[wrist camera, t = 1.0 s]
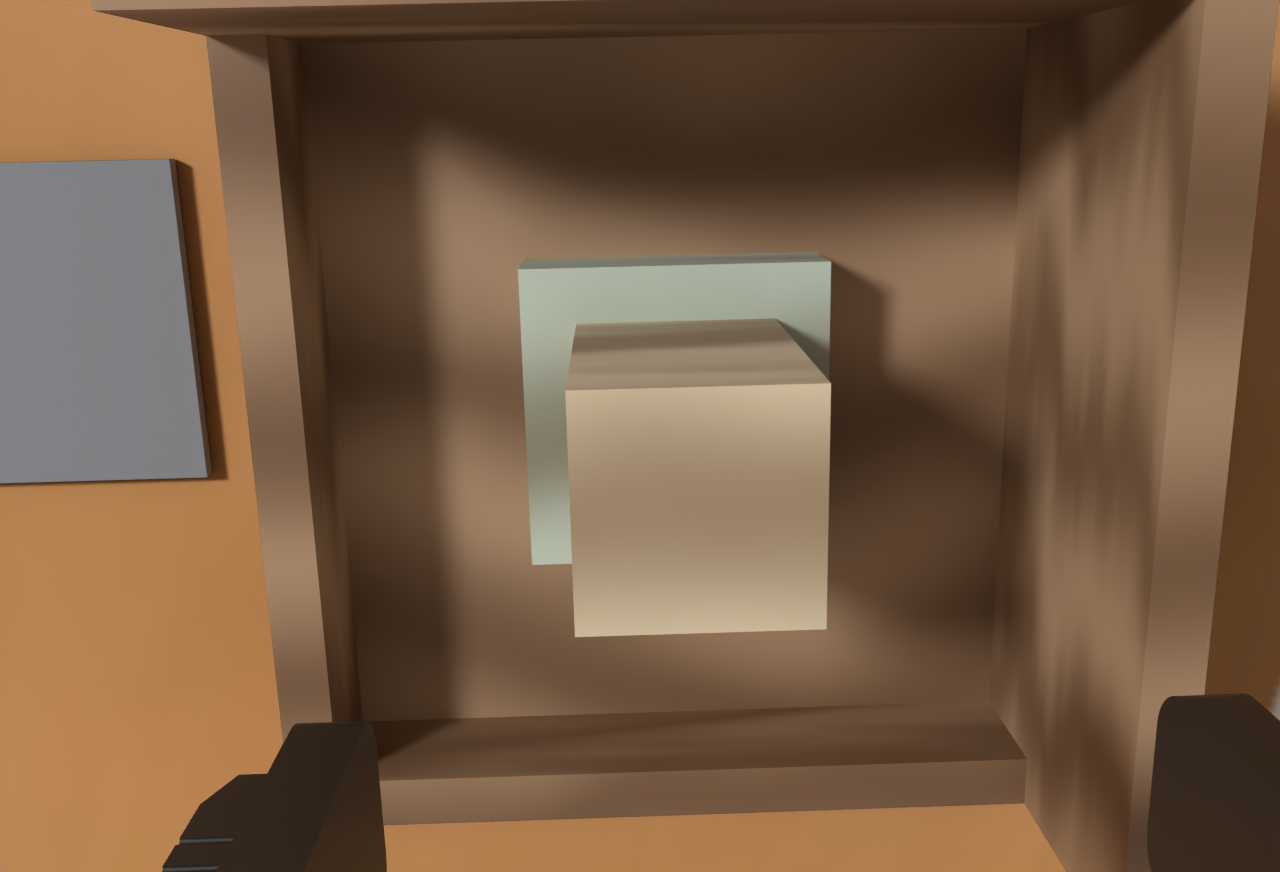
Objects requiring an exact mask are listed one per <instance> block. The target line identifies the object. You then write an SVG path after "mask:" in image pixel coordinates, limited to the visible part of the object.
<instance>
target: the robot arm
mask: <svg viewBox="0 0 1280 872" xmlns="http://www.w3.org/2000/svg"><path fill="white" fill-rule="evenodd" d="M1147 850H1148V857H1149V863H1150V867H1151V871H1152V872H1280V721H1279V720H1278V719H1277V718H1276V717H1275V716H1274V715H1272V714H1271V713H1270V712H1269V711H1268V710H1267V709H1266V708H1264V707H1263V706H1262V705H1261V704H1260V703H1259V702H1258V701H1256V700H1255V699H1254V698H1253V697H1251V696H1249V695H1247V694H1217V695H1187V696H1171V697H1168V698H1167V699H1166V700H1165V701H1164V702H1163V704H1162V706H1161V708H1160V711H1159V715H1158V721H1157V729H1156V740H1155V751H1154V762H1153V772H1152V783H1151V794H1150V804H1149V815H1148V826H1147ZM162 872H387V865H386V849H385V838H384V826H383V814H382V803H381V791H380V780H379V768H378V756H377V745H376V738H375V733H374V729H373V726H372V724H371V722H369V721H353V722H322V723H297V724H295V725H294V726H293V727H292V728H291V730H290V732H289V734H288V736H287V738H286V739H285V741H284V743H283V745H282V747H281V749H280V751H279V753H278V755H277V756H276V758H275V760H274V762H273V764H272V766H271V768H270V770H269V772H268V773H267V774H250V775H238V776H237V777H235V778H234V779H233V780H232V781H230V782H229V783H228V784H226V785H225V786H224V787H222V788H221V789H220V790H218V791H217V792H216V793H215V794H213V795H212V796H211V797H209V798H208V799H207V800H205V801H204V802H203V803H201V804H200V806H199V807H198V809H197V811H196V812H195V814H194V815H193V817H192V819H191V820H190V822H189V824H188V825H187V827H186V829H185V830H184V832H183V834H182V835H181V837H180V843H179V845H175V847H174V849H173V850H172V852H171V853H170V855H169V857H168V858H167V860H166V862H165V863H164V865H163V871H162Z"/></svg>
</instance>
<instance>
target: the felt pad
mask: <svg viewBox="0 0 1280 872" xmlns="http://www.w3.org/2000/svg"><path fill="white" fill-rule="evenodd" d="M211 473H212V468H211V460H210V451H209V443H208V434H207V426H206V417H205V409H204V400H203V392H202V383H201V375H200V366H199V358H198V349H197V341H196V333H195V324H194V316H193V307H192V299H191V290H190V282H189V273H188V265H187V256H186V248H185V239H184V231H183V222H182V214H181V205H180V197H179V189H178V180H177V172H176V163H175V159H147V160H104V161H62V162H19V163H0V483H27V482H62V481H97V480H132V479H167V478H202V477H208V476H209V475H210V474H211Z"/></svg>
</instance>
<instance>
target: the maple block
mask: <svg viewBox="0 0 1280 872" xmlns="http://www.w3.org/2000/svg"><path fill="white" fill-rule="evenodd" d="M565 396H566V422H567V447H568V473H569V498H570V524H571V549H572V575H573V601H574V626H575V637H598V636H630V635H661V634H693V633H725V632H757V631H789V630H821V629H827V576H828V523H829V469H830V415H831V383H830V381H829V380H828V379H827V378H826V377H825V376H824V374H823V373H822V372H821V371H820V370H819V369H818V368H817V366H816V365H815V364H814V363H813V362H812V361H811V359H810V358H809V357H808V356H807V355H806V354H805V352H804V351H803V350H802V349H801V348H800V347H799V345H798V344H797V343H796V342H795V341H794V340H793V339H792V337H791V336H790V335H789V334H788V333H787V332H786V330H785V329H784V328H783V327H782V326H781V325H780V323H779V322H778V321H777V320H776V319H775V318H769V319H731V320H693V321H655V322H617V323H579V324H576V327H575V333H574V340H573V346H572V352H571V358H570V364H569V371H568V377H567V383H566V389H565Z"/></svg>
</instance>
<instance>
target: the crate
mask: <svg viewBox="0 0 1280 872" xmlns="http://www.w3.org/2000/svg"><path fill="white" fill-rule="evenodd" d="M1278 2H1279V0H92V7H93V11H97V12H102V13H106V14H111V15H115V16H120V17H124V18H129V19H133V20H138V21H142V22H147V23H151V24H156V25H160V26H165V27H169V28H174V29H178V30H183V31H187V32H192V33H196V34H201V35H205V36H206V38H207V47H208V57H209V66H210V75H211V84H212V93H213V103H214V112H215V121H216V130H217V139H218V149H219V158H220V167H221V176H222V185H223V195H224V204H225V213H226V222H227V231H228V240H229V250H230V259H231V268H232V277H233V286H234V296H235V305H236V314H237V323H238V332H239V342H240V351H241V360H242V369H243V378H244V388H245V397H246V406H247V415H248V424H249V433H250V443H251V452H252V461H253V470H254V479H255V489H256V498H257V507H258V516H259V525H260V535H261V544H262V553H263V562H264V571H265V580H266V590H267V599H268V608H269V617H270V626H271V636H272V645H273V654H274V663H275V672H276V682H277V691H278V700H279V709H280V718H281V728H282V737H283V743H284V741H285V739H286V738H287V736H288V734H289V732H290V730H291V728H292V727H293V726H294V725H295V724H297V723H322V722H353V721H369V722H371V724H372V726H373V729H374V733H375V738H376V745H377V756H378V768H379V780H380V791H381V803H382V814H383V825H407V824H436V823H465V822H495V821H524V820H553V819H582V818H611V817H640V816H669V815H698V814H727V813H756V812H785V811H814V810H844V809H873V808H902V807H931V806H960V805H989V804H1018V803H1024V804H1025V805H1026V807H1027V808H1028V810H1029V812H1030V813H1031V815H1032V817H1033V818H1034V820H1035V821H1036V823H1037V825H1038V826H1039V828H1040V830H1041V831H1042V833H1043V835H1044V836H1045V838H1046V839H1047V841H1048V843H1049V844H1050V846H1051V848H1052V849H1053V851H1054V852H1055V854H1056V856H1057V857H1058V859H1059V861H1060V862H1061V864H1062V866H1063V867H1064V869H1065V870H1066V872H1152V871H1151V867H1150V863H1149V857H1148V850H1147V826H1148V815H1149V804H1150V794H1151V783H1152V772H1153V762H1154V751H1155V740H1156V729H1157V721H1158V715H1159V711H1160V708H1161V706H1162V704H1163V702H1164V701H1165V700H1166V699H1167V698H1168V697H1171V696H1187V695H1204V694H1205V684H1206V675H1207V666H1208V656H1209V647H1210V637H1211V628H1212V619H1213V609H1214V600H1215V591H1216V581H1217V572H1218V563H1219V553H1220V544H1221V535H1222V525H1223V516H1224V507H1225V497H1226V488H1227V479H1228V469H1229V460H1230V450H1231V441H1232V432H1233V422H1234V413H1235V404H1236V394H1237V385H1238V376H1239V366H1240V357H1241V348H1242V338H1243V329H1244V320H1245V310H1246V301H1247V292H1248V282H1249V273H1250V264H1251V254H1252V245H1253V235H1254V226H1255V217H1256V207H1257V198H1258V189H1259V179H1260V170H1261V161H1262V151H1263V142H1264V133H1265V123H1266V114H1267V105H1268V95H1269V86H1270V77H1271V67H1272V58H1273V48H1274V39H1275V30H1276V20H1277V11H1278ZM769 318H775V319H776V320H777V321H778V322H779V323H780V325H781V326H782V327H783V328H784V329H785V330H786V332H787V333H788V334H789V335H790V336H791V337H792V339H793V340H794V341H795V342H796V343H797V344H798V345H799V347H800V348H801V349H802V350H803V351H804V352H805V354H806V355H807V356H808V357H809V358H810V359H811V361H812V362H813V363H814V364H815V365H816V366H817V368H818V369H819V370H820V371H821V372H822V373H823V374H824V376H825V377H826V378H827V379H828V380H829V381H830V383H831V415H830V469H829V523H828V576H827V629H821V630H789V631H757V632H725V633H693V634H661V635H630V636H598V637H575V626H574V601H573V575H572V549H571V524H570V498H569V473H568V447H567V422H566V396H565V389H566V383H567V377H568V371H569V364H570V358H571V352H572V346H573V340H574V333H575V327H576V324H579V323H617V322H655V321H693V320H731V319H769Z"/></svg>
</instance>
